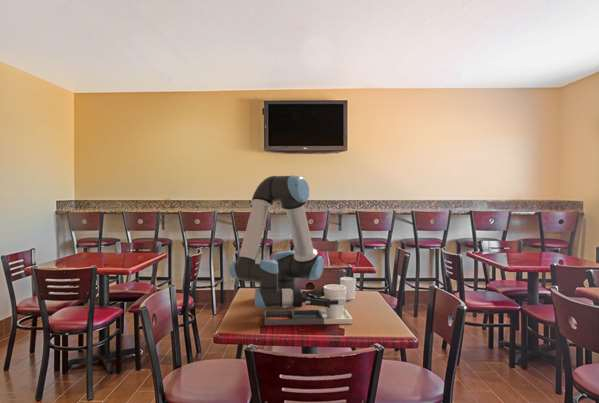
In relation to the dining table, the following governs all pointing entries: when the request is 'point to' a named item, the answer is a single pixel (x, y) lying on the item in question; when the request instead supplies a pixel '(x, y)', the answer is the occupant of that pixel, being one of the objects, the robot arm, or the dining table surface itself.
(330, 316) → the foam cup
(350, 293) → the white cup
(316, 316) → the grey flat rectangular tray
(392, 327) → the dining table surface
